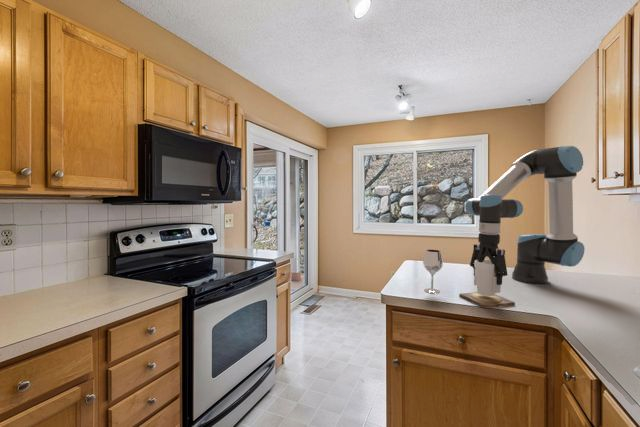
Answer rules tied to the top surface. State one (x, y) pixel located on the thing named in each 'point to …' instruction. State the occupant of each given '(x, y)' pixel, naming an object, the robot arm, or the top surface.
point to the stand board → (486, 300)
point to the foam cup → (485, 277)
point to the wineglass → (432, 266)
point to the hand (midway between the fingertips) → (486, 288)
